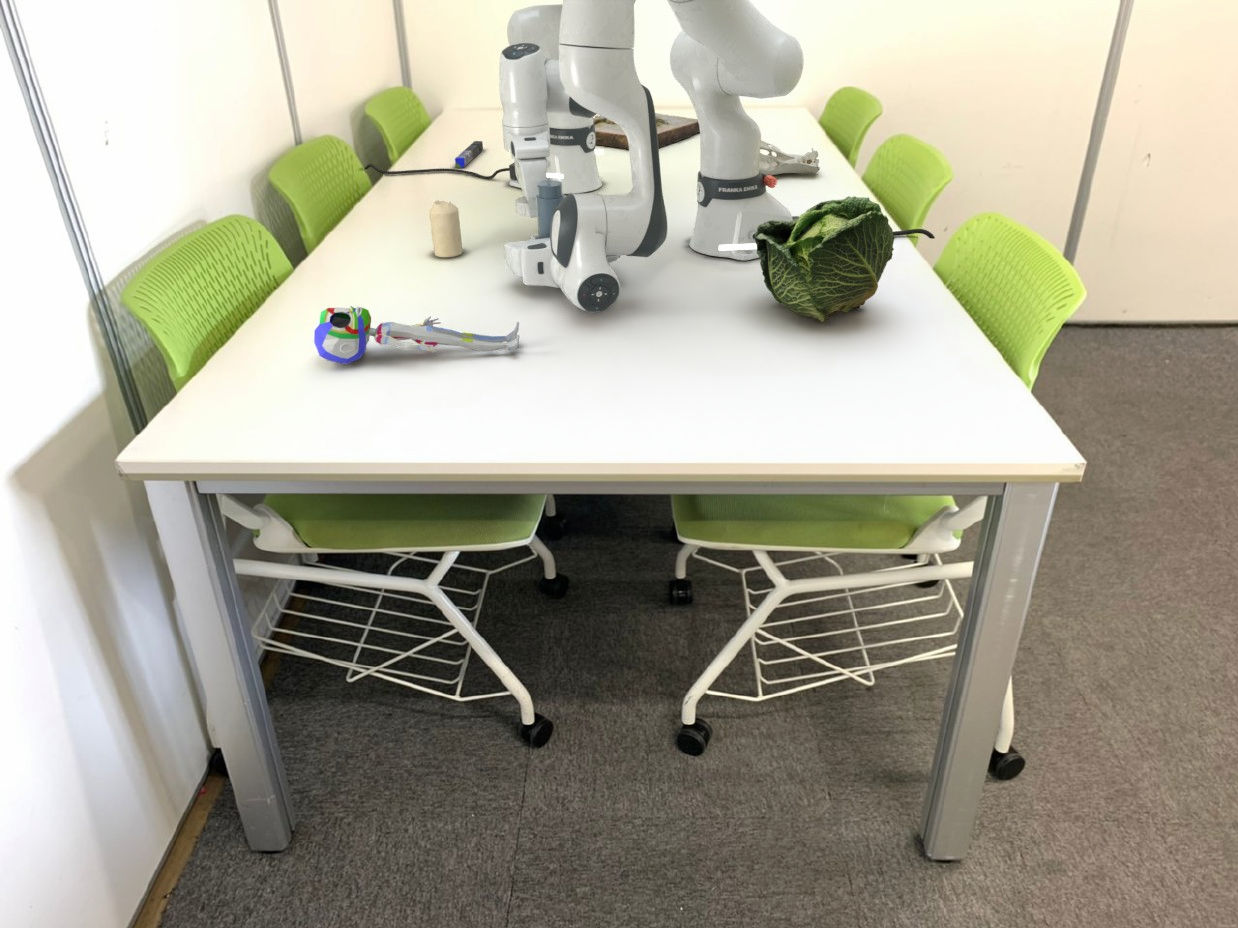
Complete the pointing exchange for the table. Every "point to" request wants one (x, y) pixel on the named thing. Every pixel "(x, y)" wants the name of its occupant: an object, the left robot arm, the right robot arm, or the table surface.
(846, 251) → the vegetable
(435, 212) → the candle
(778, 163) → the anatomical model
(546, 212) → the jar
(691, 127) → the plaque
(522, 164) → the left robot arm
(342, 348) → the toy
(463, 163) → the pillar
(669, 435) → the table surface
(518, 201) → the lid
